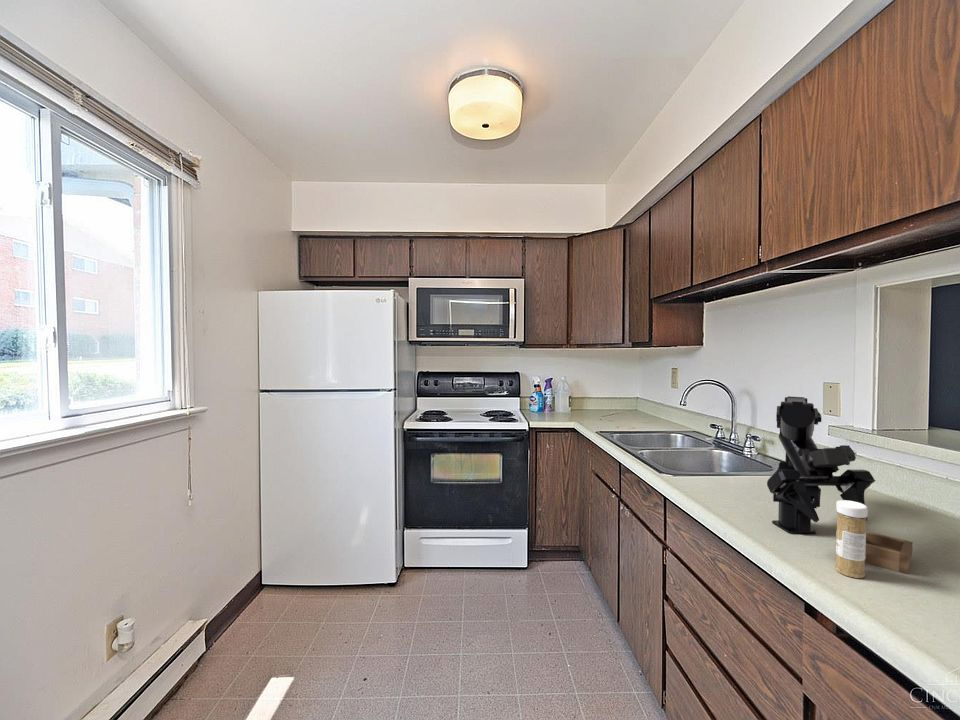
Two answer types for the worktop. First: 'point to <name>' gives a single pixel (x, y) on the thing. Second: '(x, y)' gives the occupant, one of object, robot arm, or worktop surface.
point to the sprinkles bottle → (851, 538)
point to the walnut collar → (888, 552)
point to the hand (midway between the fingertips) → (841, 521)
